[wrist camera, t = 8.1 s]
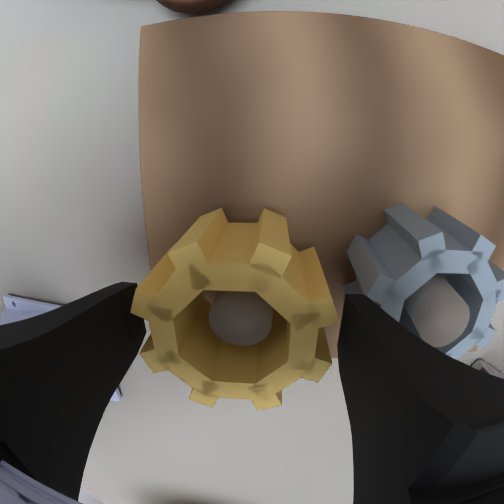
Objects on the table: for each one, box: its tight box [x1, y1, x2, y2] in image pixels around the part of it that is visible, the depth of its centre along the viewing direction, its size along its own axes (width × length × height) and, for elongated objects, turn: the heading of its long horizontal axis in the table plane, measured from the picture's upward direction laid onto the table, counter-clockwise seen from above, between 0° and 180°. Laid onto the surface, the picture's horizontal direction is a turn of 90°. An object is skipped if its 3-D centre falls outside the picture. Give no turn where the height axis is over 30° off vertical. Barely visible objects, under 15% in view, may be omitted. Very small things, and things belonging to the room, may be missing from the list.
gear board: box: [139, 11, 504, 358], centre depth 11 cm, size 18×16×6 cm
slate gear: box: [343, 203, 504, 360], centre depth 11 cm, size 6×6×4 cm
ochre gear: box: [130, 208, 339, 411], centre depth 11 cm, size 6×6×4 cm
